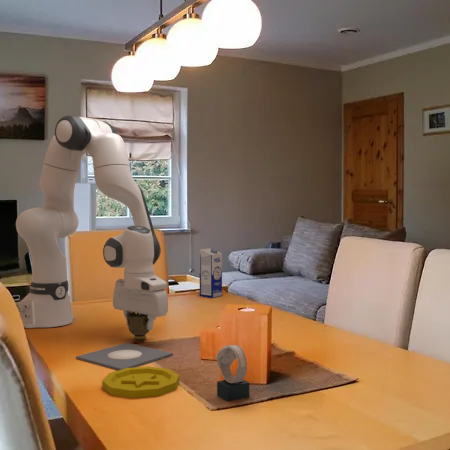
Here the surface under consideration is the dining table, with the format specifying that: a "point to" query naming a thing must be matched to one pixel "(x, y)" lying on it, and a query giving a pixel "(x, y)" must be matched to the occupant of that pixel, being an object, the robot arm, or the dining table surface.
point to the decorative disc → (140, 382)
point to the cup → (137, 325)
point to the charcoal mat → (124, 356)
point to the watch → (231, 385)
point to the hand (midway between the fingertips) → (139, 327)
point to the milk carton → (210, 273)
